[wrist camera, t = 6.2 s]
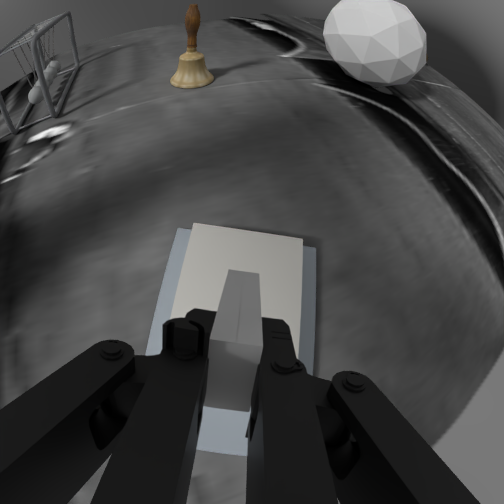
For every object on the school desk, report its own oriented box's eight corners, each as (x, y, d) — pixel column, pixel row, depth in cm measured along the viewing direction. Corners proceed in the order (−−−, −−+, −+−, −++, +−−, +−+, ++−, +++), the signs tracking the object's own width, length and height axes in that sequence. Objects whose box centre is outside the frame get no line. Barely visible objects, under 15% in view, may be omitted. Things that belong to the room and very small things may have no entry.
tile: (294, 399, 19) (302, 238, 26) (157, 380, 19) (193, 222, 26) (287, 400, 21) (296, 252, 28) (164, 383, 21) (195, 238, 28)
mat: (303, 457, 19) (305, 458, 18) (133, 434, 18) (131, 434, 18) (314, 249, 29) (316, 247, 29) (178, 229, 29) (177, 227, 28)
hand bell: (175, 72, 48) (173, 2, 35) (215, 72, 49) (219, 1, 35) (165, 89, 44) (161, 9, 30) (211, 89, 45) (215, 7, 31)
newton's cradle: (46, 78, 49) (33, 23, 34) (80, 65, 52) (71, 9, 37) (12, 139, 36) (-17, 64, 21) (57, 121, 38) (33, 37, 23)
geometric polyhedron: (334, 107, 61) (286, 22, 43) (362, 59, 65) (326, -12, 47) (429, 114, 46) (399, 6, 27) (438, 61, 50) (413, -22, 31)
